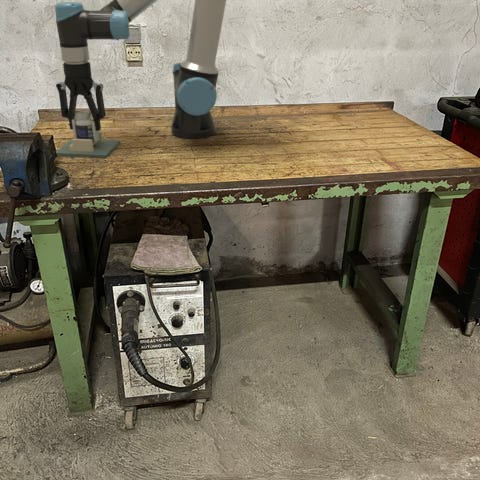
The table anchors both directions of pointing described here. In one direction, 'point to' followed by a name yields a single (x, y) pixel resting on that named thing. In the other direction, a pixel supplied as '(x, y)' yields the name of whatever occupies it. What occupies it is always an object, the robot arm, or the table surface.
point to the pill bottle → (84, 126)
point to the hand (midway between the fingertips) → (87, 140)
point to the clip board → (88, 148)
